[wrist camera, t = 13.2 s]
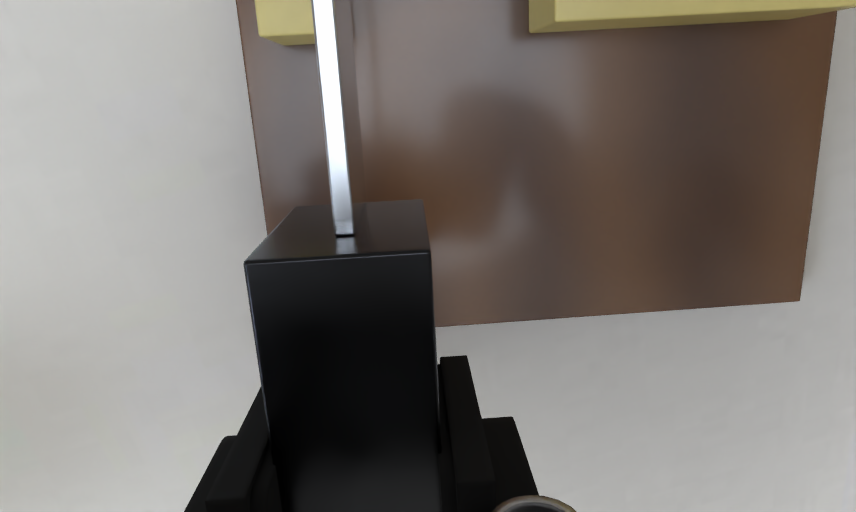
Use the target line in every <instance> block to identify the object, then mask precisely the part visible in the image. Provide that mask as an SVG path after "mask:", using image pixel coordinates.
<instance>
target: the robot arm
mask: <svg viewBox="0 0 856 512" xmlns="http://www.w3.org/2000/svg"><path fill="white" fill-rule="evenodd" d="M437 371H438V390H439V409H440V427H441V446H442V452H441V453H440V454H438V462H439V479H440V497H441V512H576V511H575V510H574V509H573V508H572V507H571V506H569V505H567V504H565V503H563V502H561V501H559V500H556V499H553V498H549V497H546V496H539V494H538V491H537V488H536V485H535V482H534V479H533V476H532V473H531V470H530V467H529V463H528V460H527V457H526V454H525V451H524V448H523V445H522V442H521V439H520V436H519V433H518V430H517V427H516V424H515V421H514V419H513V417H499V418H484V419H481V415H480V410H479V406H478V402H477V397H476V393H475V389H474V384H473V380H472V376H471V371H470V367H469V363H468V358H467V355H465V356H450V357H440V364H437ZM184 512H282V506H281V499H280V492H279V485H278V478H277V472H276V465H273V462H272V455H271V448H270V441H269V434H268V427H267V421H266V414H265V407H264V400H263V393H262V387H260V390H259V392H258V394H257V396H256V398H255V400H254V402H253V404H252V406H251V408H250V410H249V412H248V414H247V416H246V418H245V420H244V422H243V424H242V426H241V428H240V430H239V432H238V434H237V435H236V436H227V437H224V439H223V440H222V441H221V443H220V445H219V447H218V449H217V450H216V452H215V454H214V456H213V458H212V460H211V462H210V464H209V466H208V467H207V469H206V471H205V473H204V475H203V477H202V479H201V481H200V483H199V484H198V486H197V488H196V490H195V492H194V494H193V496H192V498H191V500H190V502H189V503H188V505H187V507H186V509H185V511H184Z"/></svg>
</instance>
